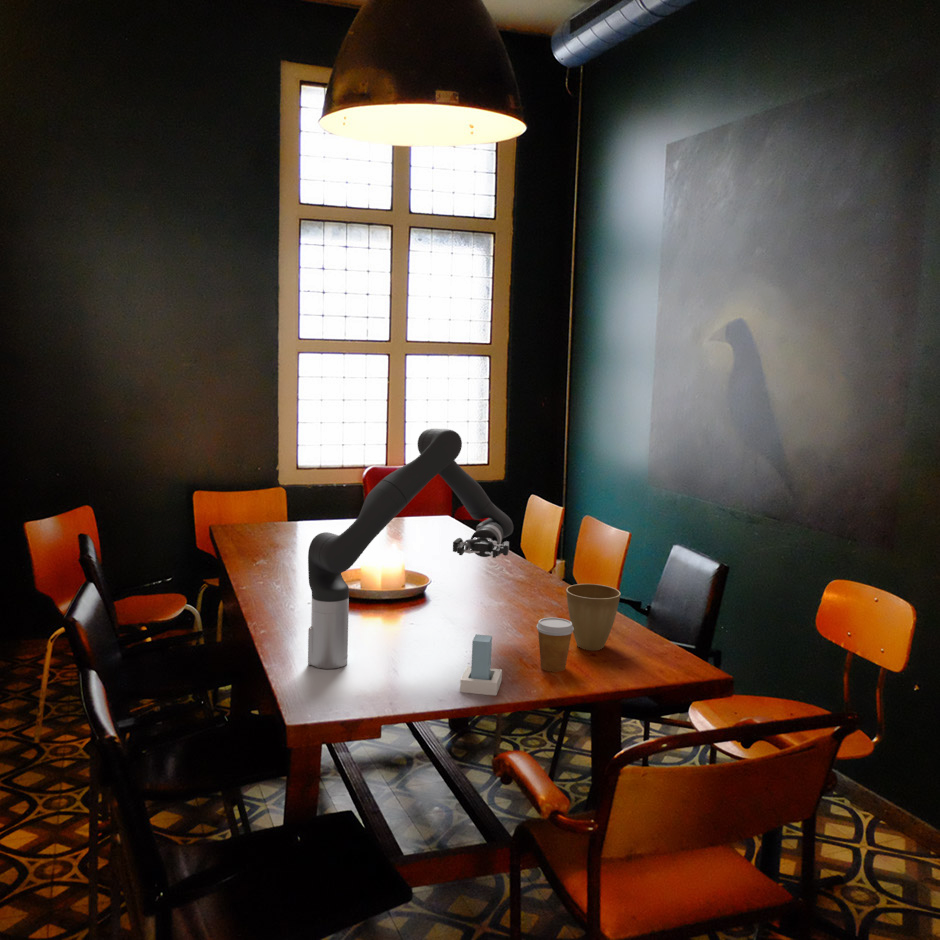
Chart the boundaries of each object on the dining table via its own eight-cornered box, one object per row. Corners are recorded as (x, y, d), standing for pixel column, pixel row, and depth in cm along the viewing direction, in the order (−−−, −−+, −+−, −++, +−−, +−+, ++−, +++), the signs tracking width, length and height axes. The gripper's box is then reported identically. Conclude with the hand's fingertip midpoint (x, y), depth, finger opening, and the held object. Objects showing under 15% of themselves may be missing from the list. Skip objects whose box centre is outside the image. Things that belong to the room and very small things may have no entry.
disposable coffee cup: (568, 661, 230) (571, 617, 228) (574, 674, 220) (576, 628, 219) (532, 660, 229) (534, 616, 228) (536, 673, 220) (538, 627, 218)
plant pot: (554, 640, 247) (557, 585, 245) (600, 636, 252) (603, 582, 250) (578, 657, 233) (582, 599, 231) (627, 652, 239) (630, 595, 237)
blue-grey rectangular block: (470, 689, 207) (472, 640, 206) (473, 682, 212) (475, 634, 211) (487, 691, 207) (489, 642, 205) (490, 683, 212) (492, 635, 210)
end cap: (460, 692, 205) (460, 679, 205) (466, 677, 215) (467, 666, 214) (496, 695, 204) (496, 683, 204) (501, 681, 213) (501, 669, 213)
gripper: (460, 524, 235) (449, 535, 219) (513, 528, 233) (506, 539, 217) (459, 551, 236) (448, 565, 220) (512, 555, 234) (504, 569, 218)
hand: (477, 552), depth 218 cm, fingers open, 8 cm apart
